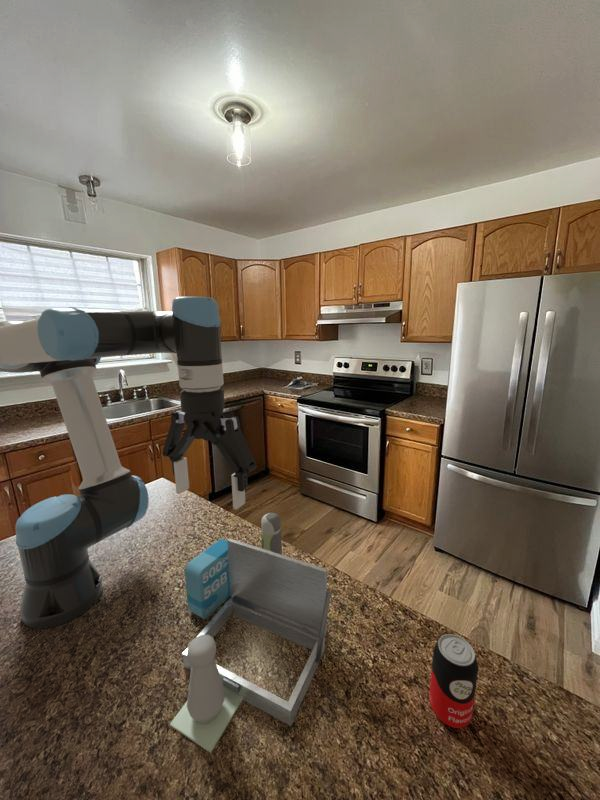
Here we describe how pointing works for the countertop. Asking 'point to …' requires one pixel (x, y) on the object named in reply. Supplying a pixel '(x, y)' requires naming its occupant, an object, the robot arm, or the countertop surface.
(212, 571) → the data package
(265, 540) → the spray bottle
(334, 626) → the countertop surface
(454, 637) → the beverage can
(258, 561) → the case
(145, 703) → the countertop surface
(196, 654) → the salt shaker
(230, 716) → the pad
